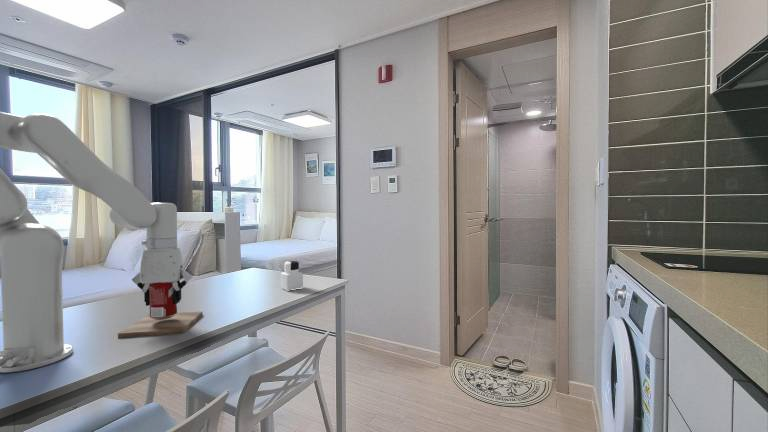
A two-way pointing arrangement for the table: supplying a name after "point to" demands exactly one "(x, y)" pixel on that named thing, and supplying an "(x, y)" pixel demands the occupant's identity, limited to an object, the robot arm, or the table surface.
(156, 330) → the walnut board
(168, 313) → the soda can
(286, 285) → the white security camera
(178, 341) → the table surface
